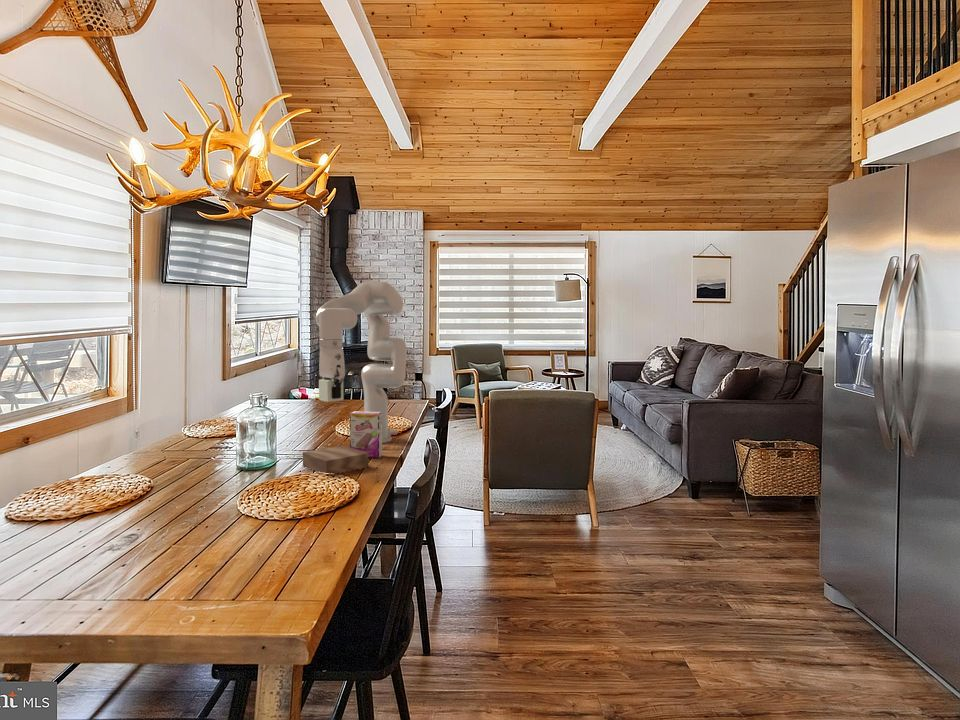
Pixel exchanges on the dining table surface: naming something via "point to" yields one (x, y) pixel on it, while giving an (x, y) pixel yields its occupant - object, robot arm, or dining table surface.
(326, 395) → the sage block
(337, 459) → the block
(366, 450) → the candy bar box
